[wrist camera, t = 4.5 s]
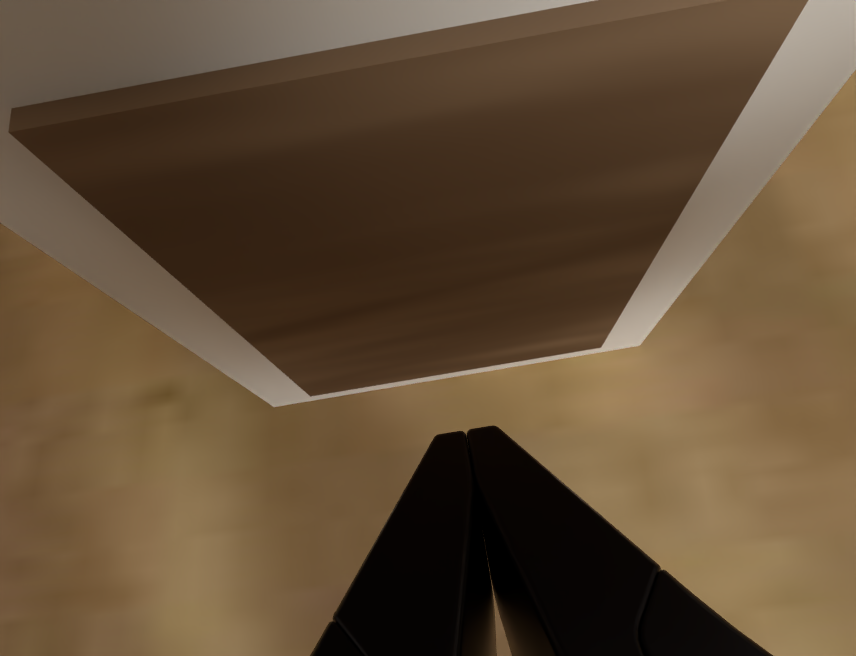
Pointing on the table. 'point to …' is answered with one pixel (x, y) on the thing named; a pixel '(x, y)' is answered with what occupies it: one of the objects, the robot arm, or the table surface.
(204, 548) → the table surface
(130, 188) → the picture frame
